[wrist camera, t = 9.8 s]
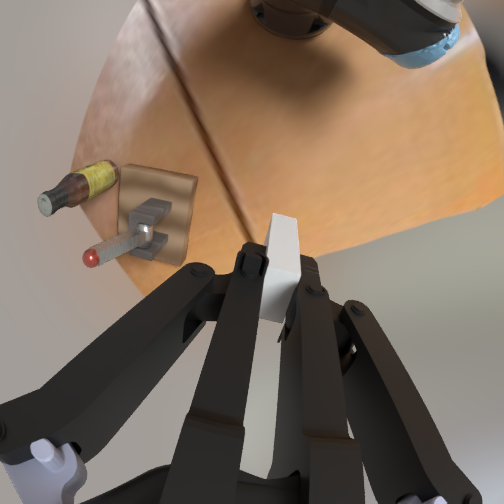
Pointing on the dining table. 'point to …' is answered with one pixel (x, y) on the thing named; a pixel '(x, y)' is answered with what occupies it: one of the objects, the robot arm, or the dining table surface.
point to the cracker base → (164, 190)
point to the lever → (119, 244)
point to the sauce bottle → (79, 187)
